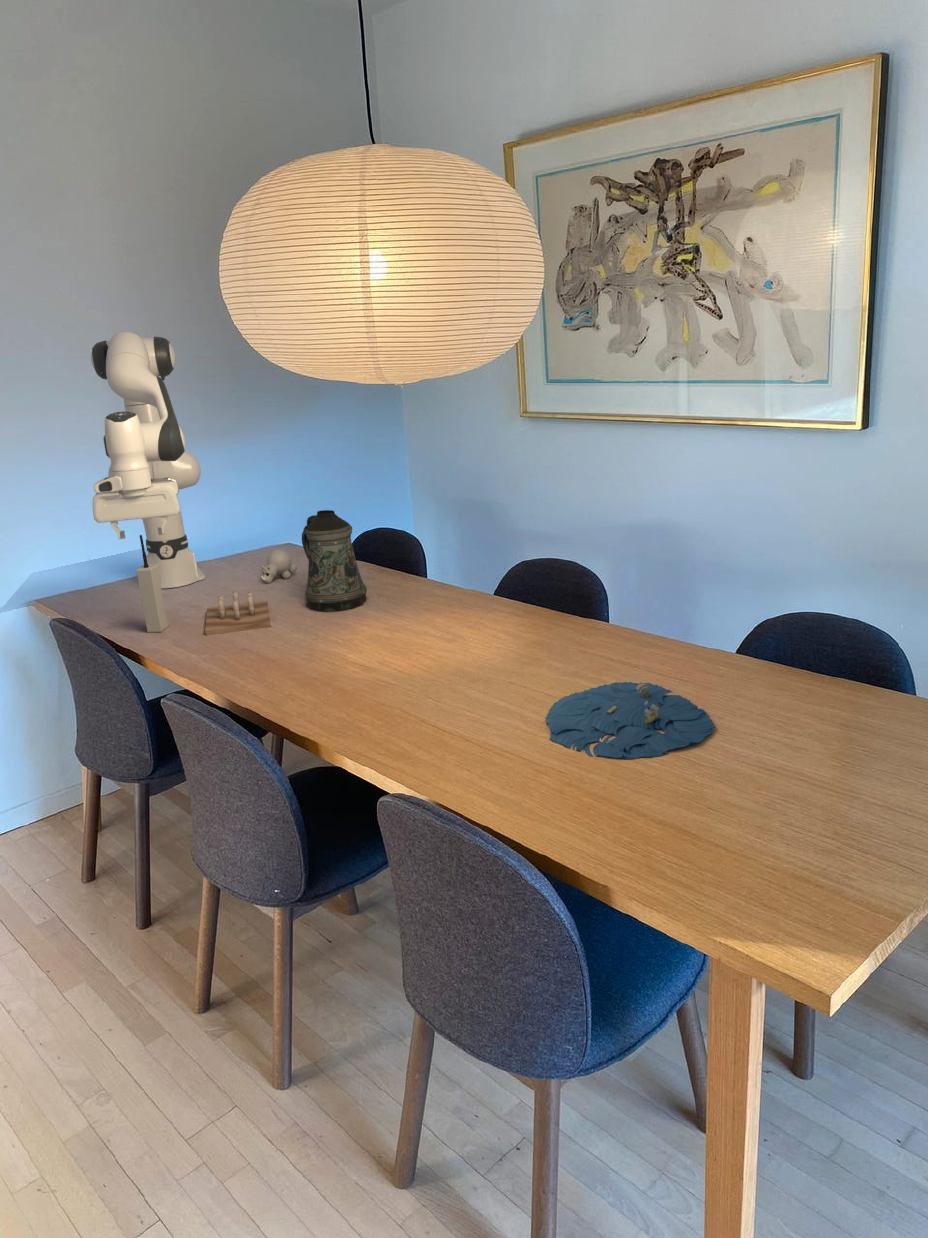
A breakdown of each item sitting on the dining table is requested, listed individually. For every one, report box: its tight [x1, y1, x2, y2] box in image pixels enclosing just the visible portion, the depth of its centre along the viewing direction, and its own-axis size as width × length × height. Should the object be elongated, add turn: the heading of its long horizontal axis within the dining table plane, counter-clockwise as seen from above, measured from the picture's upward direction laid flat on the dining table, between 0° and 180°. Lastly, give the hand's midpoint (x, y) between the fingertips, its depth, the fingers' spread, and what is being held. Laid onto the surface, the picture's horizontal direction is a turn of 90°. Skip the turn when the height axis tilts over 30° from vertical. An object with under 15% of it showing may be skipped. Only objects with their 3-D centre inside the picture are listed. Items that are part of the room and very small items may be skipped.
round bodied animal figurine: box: [260, 549, 298, 585], centre depth 267 cm, size 7×12×8 cm, turn 145°
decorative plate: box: [544, 681, 716, 760], centre depth 160 cm, size 30×30×5 cm
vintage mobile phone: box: [135, 534, 170, 634], centre depth 225 cm, size 4×5×25 cm
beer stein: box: [301, 509, 368, 613], centre depth 238 cm, size 16×19×25 cm
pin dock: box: [204, 591, 272, 636], centre depth 232 cm, size 20×16×6 cm
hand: (142, 536), depth 221 cm, fingers open, 8 cm apart
